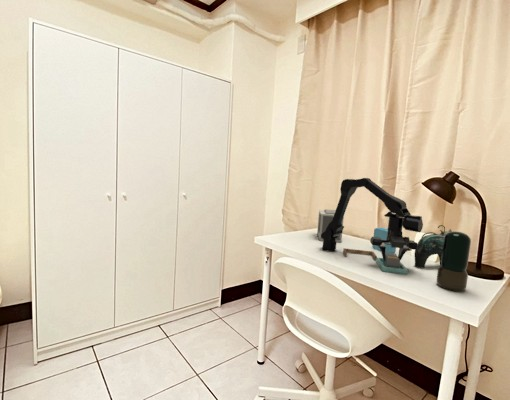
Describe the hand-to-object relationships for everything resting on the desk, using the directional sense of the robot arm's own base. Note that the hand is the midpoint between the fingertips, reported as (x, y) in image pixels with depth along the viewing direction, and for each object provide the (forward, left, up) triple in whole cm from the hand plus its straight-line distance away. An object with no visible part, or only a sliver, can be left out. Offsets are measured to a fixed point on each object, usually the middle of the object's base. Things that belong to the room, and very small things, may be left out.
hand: (391, 261), depth 129 cm
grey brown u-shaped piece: (-12, +13, -3) cm, 18 cm away
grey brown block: (0, 0, -2) cm, 2 cm away
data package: (+3, +29, -3) cm, 29 cm away
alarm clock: (-26, +45, -3) cm, 52 cm away
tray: (0, 0, -3) cm, 3 cm away
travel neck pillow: (+21, +9, -3) cm, 23 cm away
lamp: (+18, -16, -3) cm, 24 cm away
